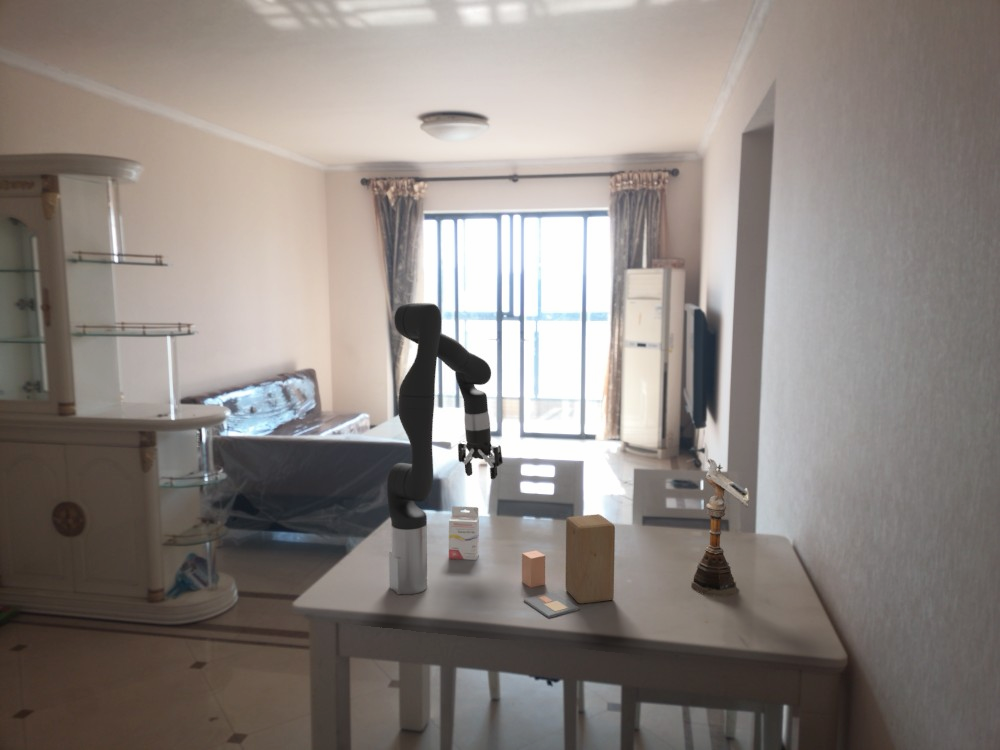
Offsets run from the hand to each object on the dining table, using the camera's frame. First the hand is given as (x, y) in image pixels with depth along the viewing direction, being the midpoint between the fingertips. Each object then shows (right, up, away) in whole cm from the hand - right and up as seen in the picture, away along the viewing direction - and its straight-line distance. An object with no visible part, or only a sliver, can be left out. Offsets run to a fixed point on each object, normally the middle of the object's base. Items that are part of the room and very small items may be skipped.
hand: (481, 476), depth 213 cm
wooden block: (+29, -26, -33) cm, 51 cm away
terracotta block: (+15, -25, -25) cm, 38 cm away
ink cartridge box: (-5, -23, -5) cm, 24 cm away
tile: (+18, -26, -39) cm, 51 cm away
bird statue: (+65, -26, -28) cm, 75 cm away
